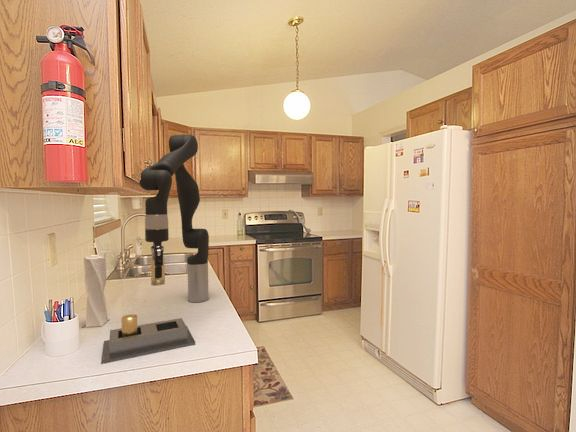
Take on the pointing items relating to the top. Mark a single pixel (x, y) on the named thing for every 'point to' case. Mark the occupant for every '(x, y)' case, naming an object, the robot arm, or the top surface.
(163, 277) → the gold and grey cylinder
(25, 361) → the top surface
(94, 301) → the skyscraper
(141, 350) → the jig
